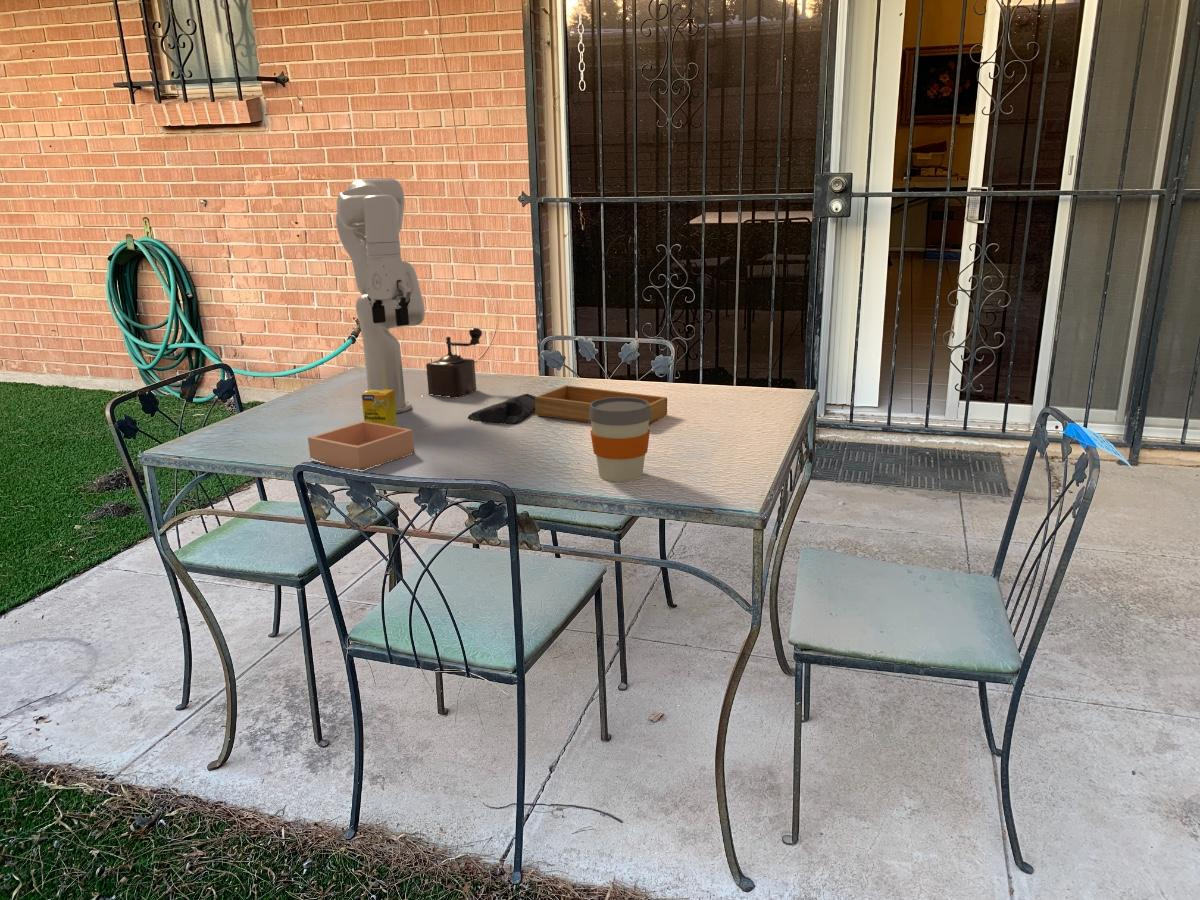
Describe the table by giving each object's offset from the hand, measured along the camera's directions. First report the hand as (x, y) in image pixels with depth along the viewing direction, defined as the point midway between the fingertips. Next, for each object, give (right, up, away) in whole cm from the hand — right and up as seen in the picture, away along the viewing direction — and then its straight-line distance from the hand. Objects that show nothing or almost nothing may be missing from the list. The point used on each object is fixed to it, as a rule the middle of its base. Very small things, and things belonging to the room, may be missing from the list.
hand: (391, 324), depth 208 cm
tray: (+50, -22, +18) cm, 58 cm away
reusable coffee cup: (+54, -35, -28) cm, 70 cm away
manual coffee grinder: (+8, -13, +50) cm, 52 cm away
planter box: (-3, -32, -12) cm, 34 cm away
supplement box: (-3, -27, +6) cm, 27 cm away
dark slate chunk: (+26, -21, +24) cm, 41 cm away
